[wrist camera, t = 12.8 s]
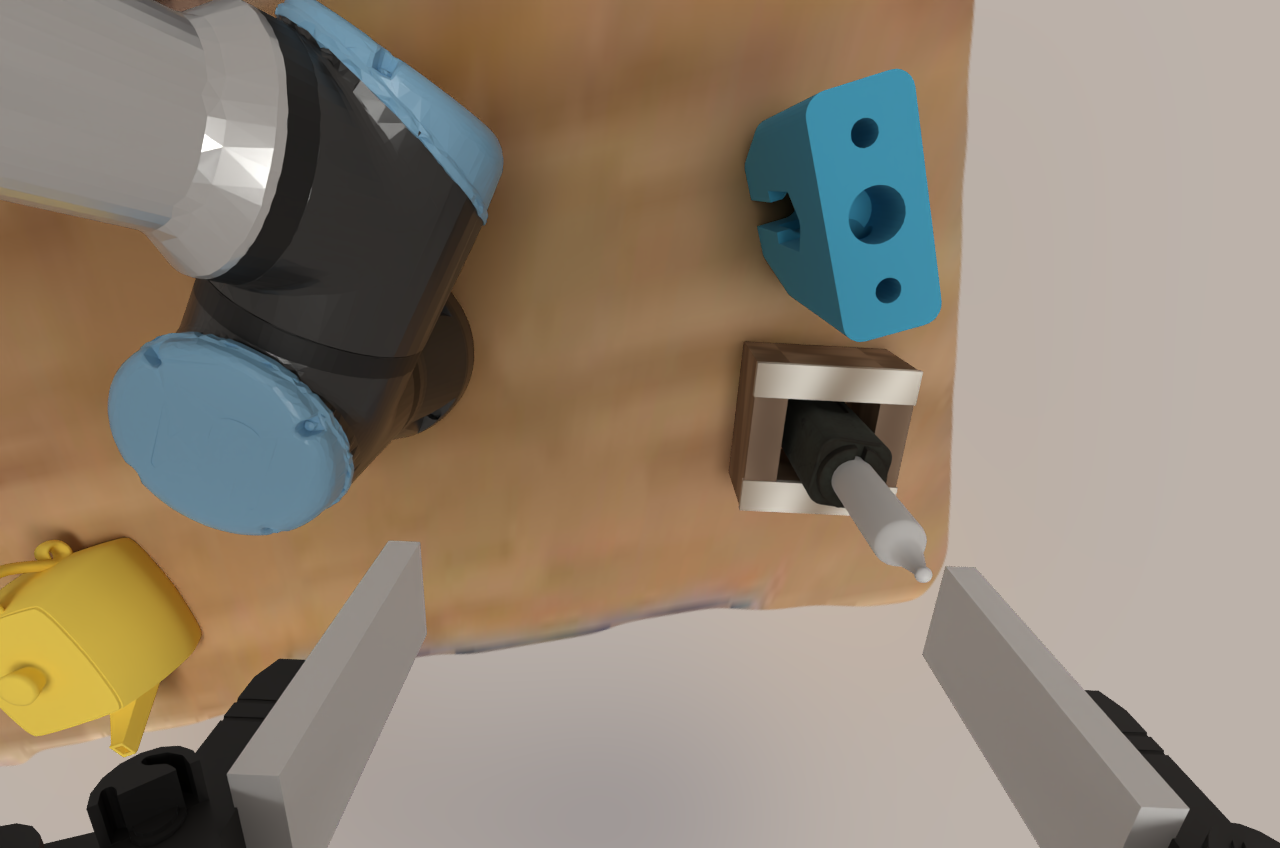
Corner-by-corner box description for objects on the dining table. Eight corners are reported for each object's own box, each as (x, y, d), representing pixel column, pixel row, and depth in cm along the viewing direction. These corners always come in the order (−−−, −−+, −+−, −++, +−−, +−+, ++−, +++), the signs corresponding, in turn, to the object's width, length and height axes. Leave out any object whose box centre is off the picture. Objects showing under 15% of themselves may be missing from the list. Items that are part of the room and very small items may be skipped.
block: (831, 270, 51) (943, 319, 32) (770, 287, 52) (846, 346, 33) (802, 111, 47) (912, 62, 28) (736, 132, 48) (801, 97, 29)
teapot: (241, 669, 65) (160, 768, 54) (138, 702, 66) (39, 805, 55) (120, 505, 58) (0, 579, 47) (9, 545, 60) (-133, 627, 49)
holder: (727, 472, 57) (739, 510, 51) (742, 340, 53) (757, 363, 47) (861, 479, 58) (890, 517, 51) (887, 348, 54) (922, 371, 47)
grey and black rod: (840, 389, 55) (992, 542, 31) (824, 444, 57) (957, 627, 33) (782, 380, 54) (893, 528, 31) (768, 435, 56) (863, 614, 33)
